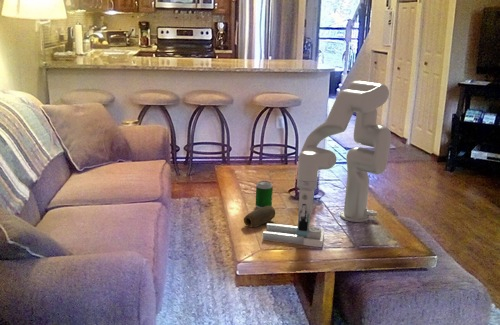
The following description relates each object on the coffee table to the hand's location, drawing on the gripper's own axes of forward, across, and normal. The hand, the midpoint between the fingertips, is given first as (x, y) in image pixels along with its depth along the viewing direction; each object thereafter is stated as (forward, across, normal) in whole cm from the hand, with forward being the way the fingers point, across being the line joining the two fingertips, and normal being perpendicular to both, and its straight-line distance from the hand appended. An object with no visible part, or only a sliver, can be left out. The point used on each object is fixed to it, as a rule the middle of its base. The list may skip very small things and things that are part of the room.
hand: (303, 226), depth 198 cm
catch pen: (+5, 0, -4) cm, 7 cm away
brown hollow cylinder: (+6, +11, +20) cm, 23 cm away
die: (+5, -1, -4) cm, 7 cm away
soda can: (+5, +30, +21) cm, 37 cm away
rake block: (+5, 0, 0) cm, 5 cm away
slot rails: (+5, 0, +7) cm, 9 cm away
